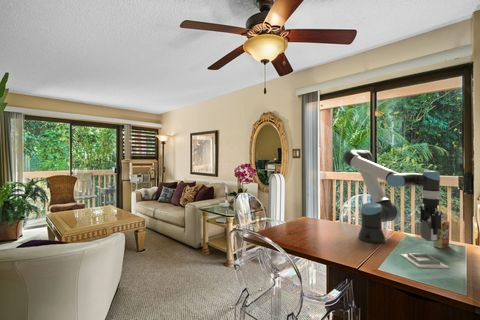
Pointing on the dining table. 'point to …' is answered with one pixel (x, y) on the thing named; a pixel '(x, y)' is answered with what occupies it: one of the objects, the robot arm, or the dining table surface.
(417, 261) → the end holder
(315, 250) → the dining table surface
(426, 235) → the block
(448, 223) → the candy box
